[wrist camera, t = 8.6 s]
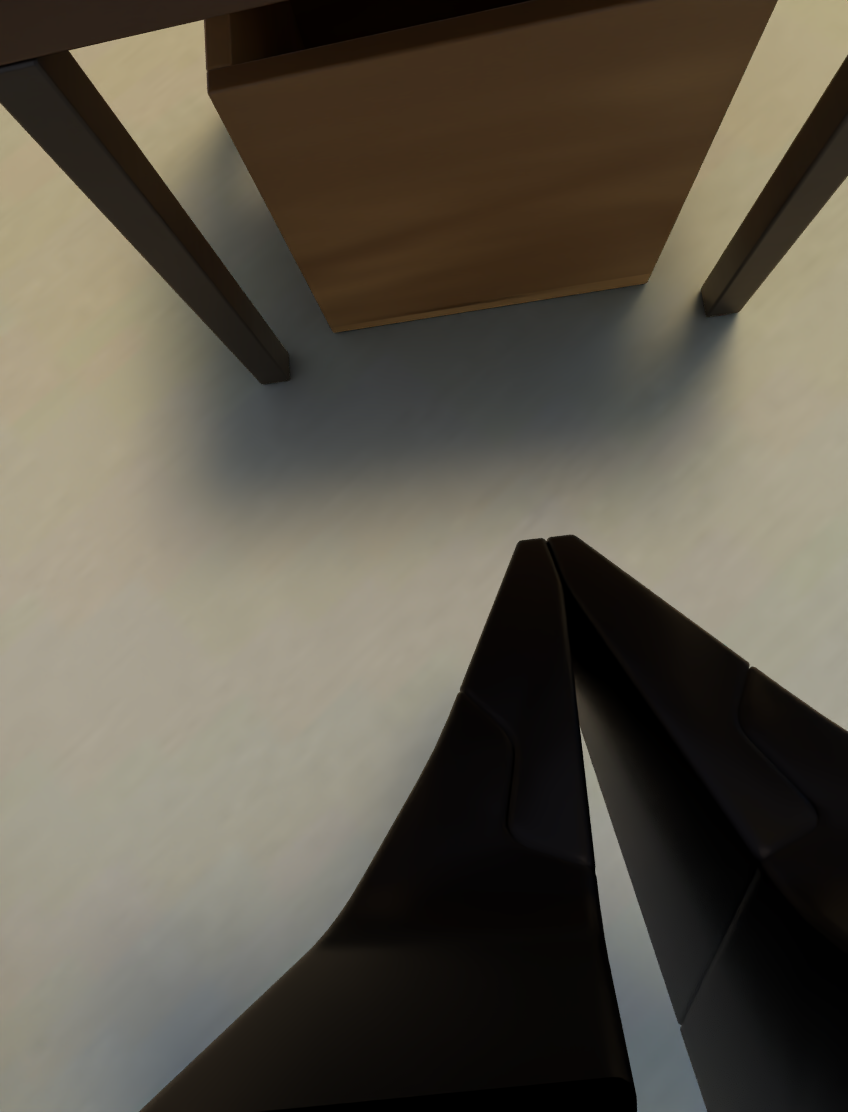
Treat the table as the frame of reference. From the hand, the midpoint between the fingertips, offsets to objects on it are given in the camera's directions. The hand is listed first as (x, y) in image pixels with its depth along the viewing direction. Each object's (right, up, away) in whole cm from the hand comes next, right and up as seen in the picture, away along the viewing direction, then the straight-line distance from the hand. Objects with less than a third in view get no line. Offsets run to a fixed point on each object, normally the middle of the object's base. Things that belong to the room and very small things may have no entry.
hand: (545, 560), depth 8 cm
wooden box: (0, +12, +9) cm, 15 cm away
